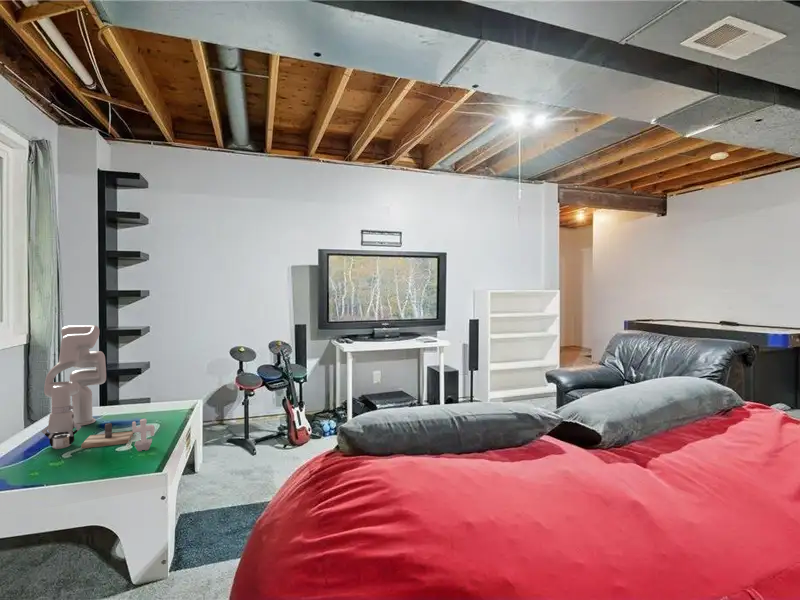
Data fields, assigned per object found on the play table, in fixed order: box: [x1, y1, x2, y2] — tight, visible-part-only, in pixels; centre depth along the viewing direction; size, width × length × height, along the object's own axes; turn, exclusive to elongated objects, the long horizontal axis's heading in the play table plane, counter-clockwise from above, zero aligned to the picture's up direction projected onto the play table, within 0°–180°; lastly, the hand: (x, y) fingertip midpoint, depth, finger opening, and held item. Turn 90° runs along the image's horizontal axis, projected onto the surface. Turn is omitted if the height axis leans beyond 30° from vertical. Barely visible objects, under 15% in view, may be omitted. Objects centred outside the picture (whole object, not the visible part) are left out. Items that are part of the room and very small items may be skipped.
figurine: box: [131, 418, 155, 452], centre depth 213 cm, size 7×9×15 cm
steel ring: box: [51, 434, 72, 450], centre depth 217 cm, size 7×7×5 cm
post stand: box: [80, 422, 135, 449], centre depth 224 cm, size 14×20×9 cm
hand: (62, 444), depth 217 cm, fingers closed on steel ring, 7 cm apart
